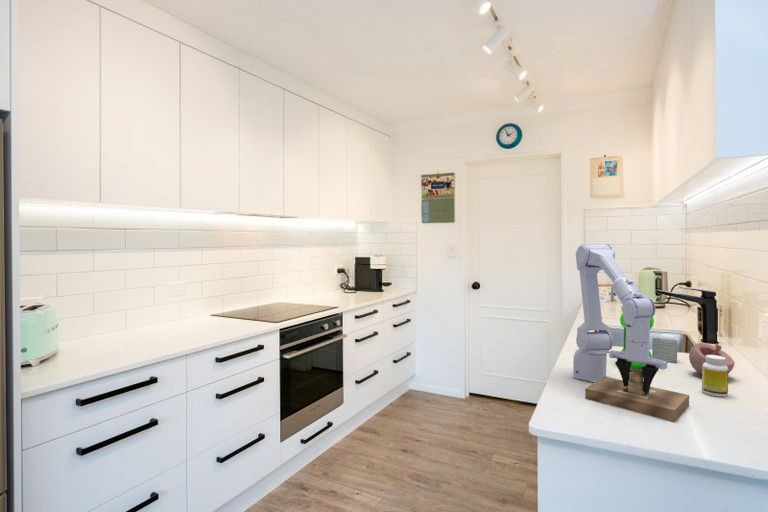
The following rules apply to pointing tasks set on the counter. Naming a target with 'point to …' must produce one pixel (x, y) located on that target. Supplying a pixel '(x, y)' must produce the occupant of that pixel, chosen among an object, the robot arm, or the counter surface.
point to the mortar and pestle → (701, 350)
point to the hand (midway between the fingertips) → (636, 388)
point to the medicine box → (664, 348)
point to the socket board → (638, 399)
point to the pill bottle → (715, 376)
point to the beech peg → (636, 382)
